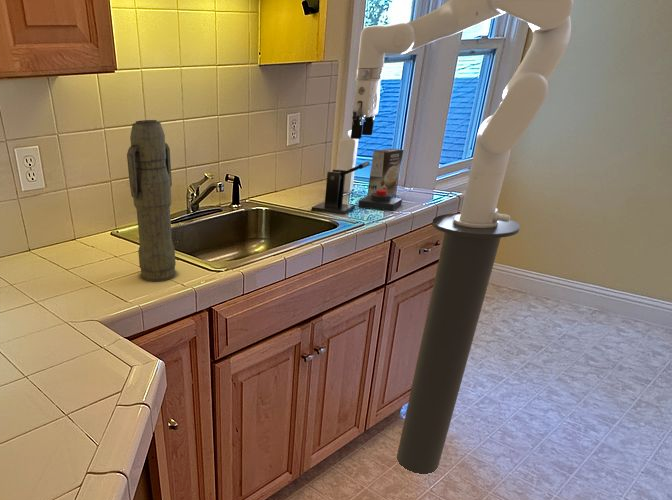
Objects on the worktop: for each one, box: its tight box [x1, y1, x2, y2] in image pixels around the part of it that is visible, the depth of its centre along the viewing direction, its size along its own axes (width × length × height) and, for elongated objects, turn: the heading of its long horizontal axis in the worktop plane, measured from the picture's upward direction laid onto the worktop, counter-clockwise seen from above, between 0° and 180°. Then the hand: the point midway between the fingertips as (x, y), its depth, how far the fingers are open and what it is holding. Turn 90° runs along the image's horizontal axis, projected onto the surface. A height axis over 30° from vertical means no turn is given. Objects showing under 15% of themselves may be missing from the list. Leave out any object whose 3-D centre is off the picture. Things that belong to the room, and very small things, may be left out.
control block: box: [357, 193, 403, 212], centre depth 174 cm, size 12×9×4 cm
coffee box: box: [366, 148, 404, 197], centre depth 185 cm, size 9×6×16 cm
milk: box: [335, 129, 359, 193], centre depth 193 cm, size 6×6×22 cm
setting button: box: [376, 189, 387, 196], centre depth 173 cm, size 4×4×2 cm
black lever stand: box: [311, 168, 356, 215], centre depth 171 cm, size 12×9×13 cm
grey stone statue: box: [126, 119, 177, 282], centre depth 116 cm, size 9×12×35 cm
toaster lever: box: [339, 161, 371, 179], centre depth 165 cm, size 12×6×2 cm, turn 51°
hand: (361, 136), depth 160 cm, fingers open, 9 cm apart
